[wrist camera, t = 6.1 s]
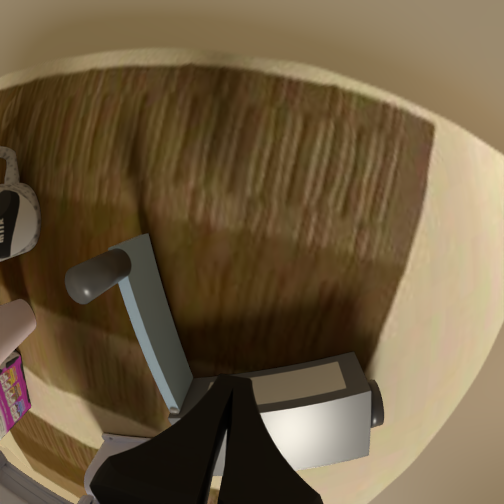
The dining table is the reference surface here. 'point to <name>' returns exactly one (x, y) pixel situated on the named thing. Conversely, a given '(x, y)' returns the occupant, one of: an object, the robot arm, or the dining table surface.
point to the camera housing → (309, 410)
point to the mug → (17, 211)
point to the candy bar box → (12, 393)
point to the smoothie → (14, 326)
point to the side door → (139, 310)
